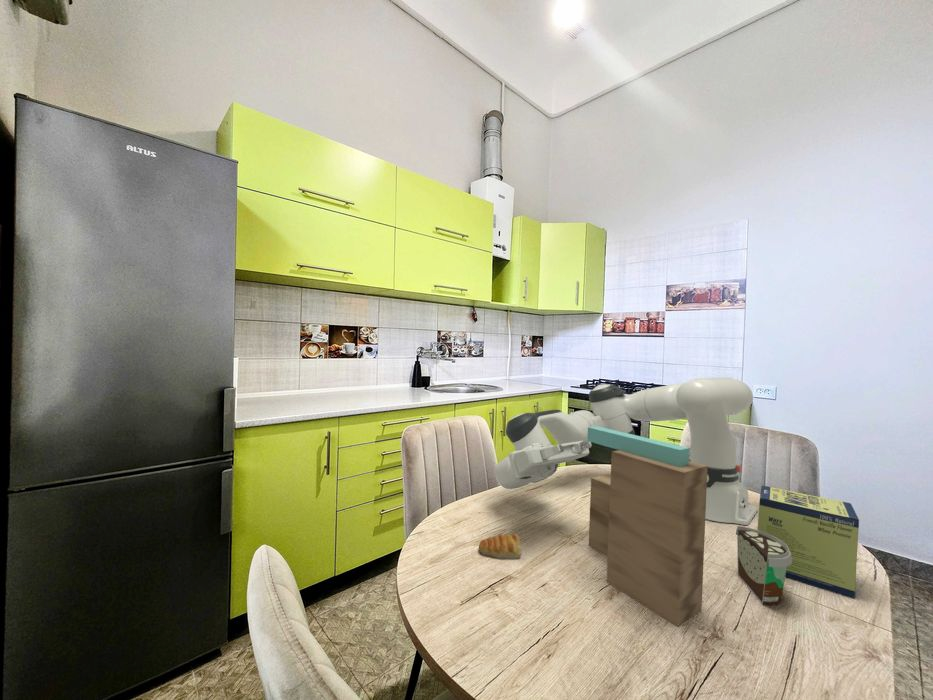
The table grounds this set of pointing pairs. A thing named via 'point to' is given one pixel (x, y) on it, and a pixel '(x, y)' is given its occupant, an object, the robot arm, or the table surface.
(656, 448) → the teal block
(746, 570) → the food container
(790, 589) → the table surface
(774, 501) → the protein box
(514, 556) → the pastry
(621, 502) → the walnut stand
